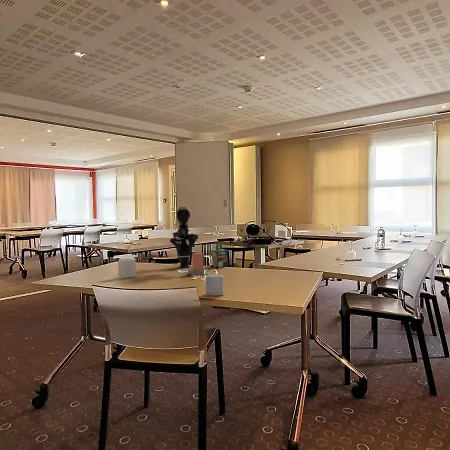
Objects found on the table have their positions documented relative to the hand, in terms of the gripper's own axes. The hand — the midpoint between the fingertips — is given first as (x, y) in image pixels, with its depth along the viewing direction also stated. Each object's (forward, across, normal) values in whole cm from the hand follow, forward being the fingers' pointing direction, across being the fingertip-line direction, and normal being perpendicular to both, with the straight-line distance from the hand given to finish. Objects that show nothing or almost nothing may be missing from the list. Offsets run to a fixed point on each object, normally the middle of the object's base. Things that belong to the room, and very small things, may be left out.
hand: (184, 252), depth 239 cm
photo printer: (+15, -23, -25) cm, 37 cm away
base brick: (+14, +8, +3) cm, 17 cm away
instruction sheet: (+10, -3, +8) cm, 14 cm away
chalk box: (+7, +5, +30) cm, 31 cm away
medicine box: (+32, +47, -36) cm, 67 cm away
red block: (+12, +9, +2) cm, 15 cm away
